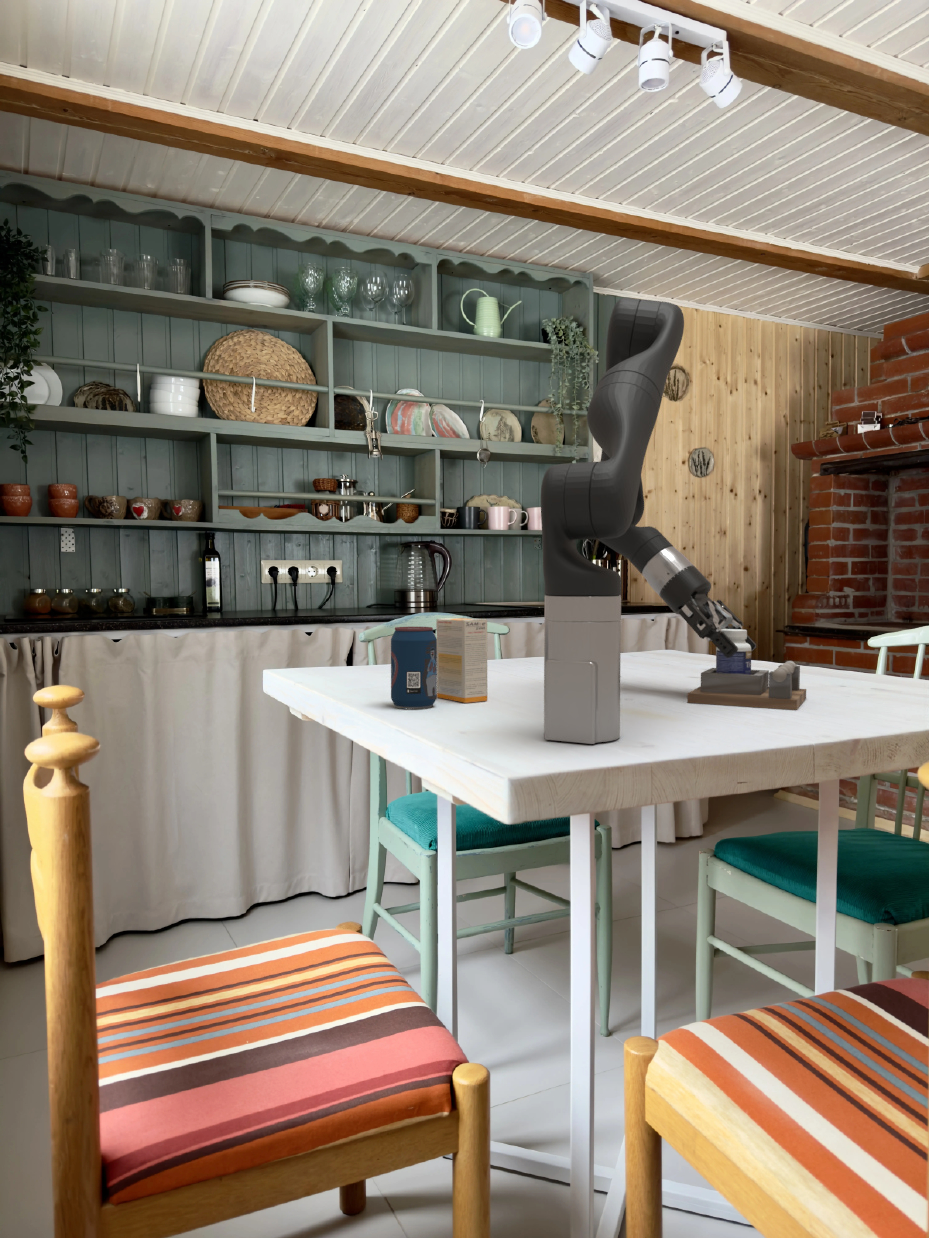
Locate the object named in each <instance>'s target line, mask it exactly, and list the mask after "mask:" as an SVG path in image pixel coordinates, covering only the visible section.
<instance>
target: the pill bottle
mask: <svg viewBox="0 0 929 1238" xmlns="http://www.w3.org/2000/svg"><path fill="white" fill-rule="evenodd" d="M721 632H724V633H725V634H726V635H727V636H728V638H729V639H730V640H731V641H732V642H733V643H734V644H735V645H736V646H737V647H738V651H737V652H736V653H735V654H734V655H732V656H731V657H728V658H727V657H726V656H725V655H724V654H723V653H722V652H721V651H720V650H719V649H718V648H717V647H715V668H716V673H726V674H746V675H751V670H752V652H751V646H750V645H749V644H748V643H746V642H745V639H747V635H748V630H747V629H743V628H742V629H722V631H721ZM721 632H720V633H721Z"/></svg>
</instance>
